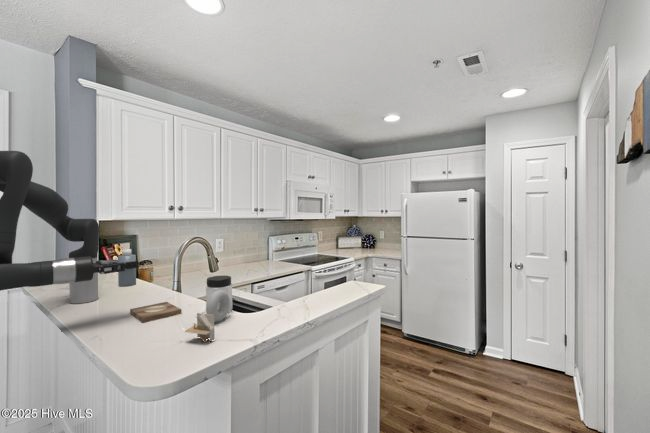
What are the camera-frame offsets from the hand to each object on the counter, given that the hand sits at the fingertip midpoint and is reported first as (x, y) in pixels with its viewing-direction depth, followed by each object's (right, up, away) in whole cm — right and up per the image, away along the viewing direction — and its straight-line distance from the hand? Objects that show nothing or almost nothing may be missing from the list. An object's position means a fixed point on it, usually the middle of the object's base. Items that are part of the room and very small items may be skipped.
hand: (135, 263), depth 105 cm
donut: (+31, -18, -7) cm, 36 cm away
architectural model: (+32, -18, -22) cm, 43 cm away
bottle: (-2, -7, -2) cm, 7 cm away
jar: (+28, -18, +3) cm, 33 cm away
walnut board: (+6, -18, +2) cm, 19 cm away
